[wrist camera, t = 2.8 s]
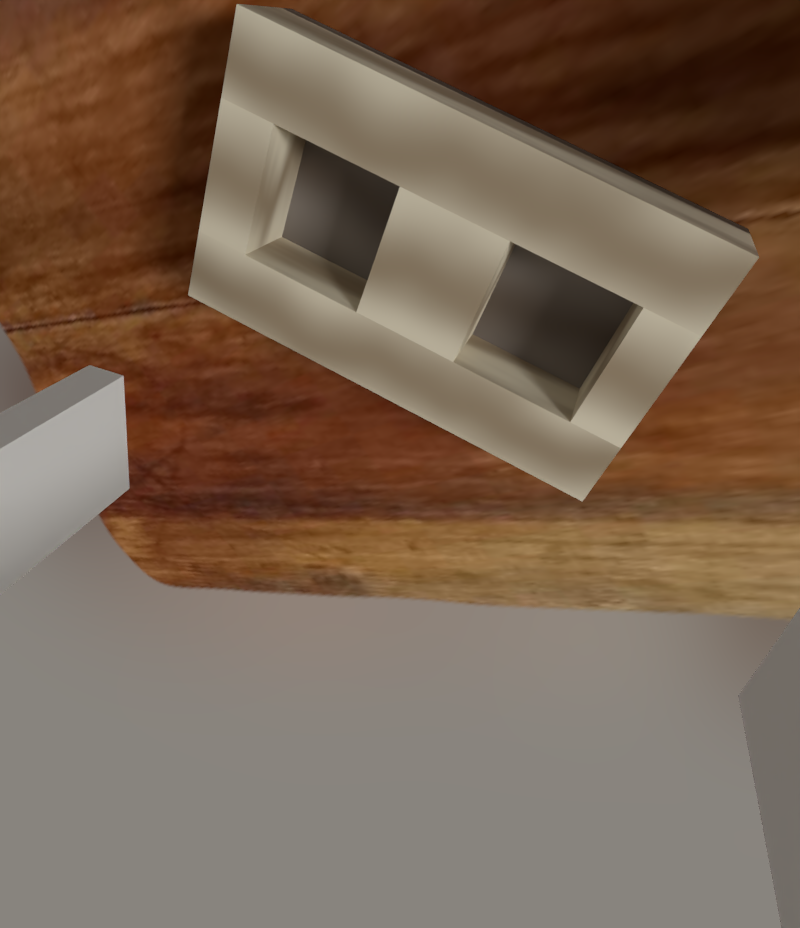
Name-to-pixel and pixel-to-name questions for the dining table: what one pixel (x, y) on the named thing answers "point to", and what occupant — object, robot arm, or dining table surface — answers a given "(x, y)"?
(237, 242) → the hole block
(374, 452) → the dining table surface
